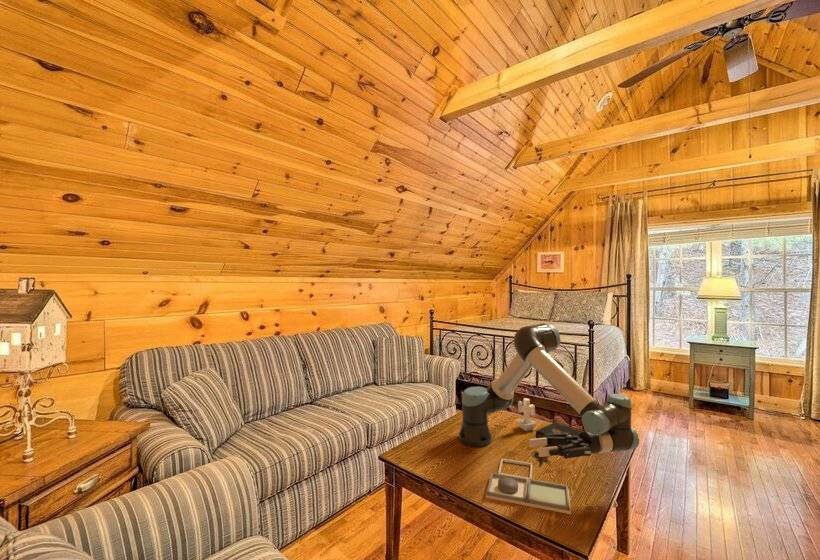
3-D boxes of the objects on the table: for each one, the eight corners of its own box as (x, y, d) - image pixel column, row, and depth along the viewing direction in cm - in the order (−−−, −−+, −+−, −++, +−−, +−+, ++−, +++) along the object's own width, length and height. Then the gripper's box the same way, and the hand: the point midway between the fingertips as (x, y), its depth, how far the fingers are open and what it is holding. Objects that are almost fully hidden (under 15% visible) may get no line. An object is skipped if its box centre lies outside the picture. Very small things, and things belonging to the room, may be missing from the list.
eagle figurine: (556, 466, 127) (562, 456, 135) (542, 447, 130) (549, 437, 137) (538, 475, 131) (545, 464, 138) (525, 456, 133) (532, 446, 140)
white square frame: (497, 475, 147) (497, 473, 147) (501, 460, 158) (501, 458, 158) (531, 481, 143) (531, 479, 143) (532, 465, 154) (532, 463, 154)
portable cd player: (535, 439, 179) (535, 431, 178) (555, 429, 189) (555, 421, 189) (568, 452, 166) (568, 443, 165) (588, 441, 176) (588, 433, 176)
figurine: (539, 429, 188) (539, 399, 187) (524, 433, 184) (523, 402, 184) (528, 424, 194) (528, 395, 194) (514, 427, 191) (514, 398, 190)
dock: (485, 497, 133) (485, 489, 133) (490, 477, 145) (490, 470, 145) (570, 514, 124) (570, 505, 124) (568, 491, 136) (568, 483, 136)
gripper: (613, 465, 126) (549, 473, 122) (578, 440, 145) (521, 446, 140) (613, 443, 126) (549, 449, 121) (578, 420, 144) (521, 425, 140)
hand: (534, 447), depth 131 cm, fingers closed on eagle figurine, 6 cm apart
